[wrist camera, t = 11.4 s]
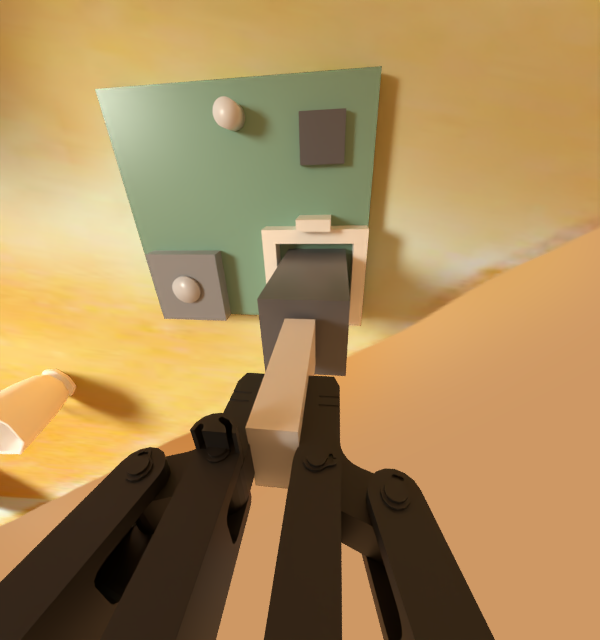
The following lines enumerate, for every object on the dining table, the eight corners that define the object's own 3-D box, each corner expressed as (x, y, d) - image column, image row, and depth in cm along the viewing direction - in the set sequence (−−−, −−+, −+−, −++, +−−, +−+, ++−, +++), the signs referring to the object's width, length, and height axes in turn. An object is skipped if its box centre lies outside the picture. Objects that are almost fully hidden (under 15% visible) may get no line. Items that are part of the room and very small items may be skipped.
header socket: (265, 215, 21) (257, 220, 19) (367, 214, 20) (371, 219, 18) (273, 314, 25) (267, 327, 23) (359, 316, 24) (361, 330, 22)
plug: (288, 248, 22) (257, 299, 13) (345, 248, 22) (350, 301, 13) (291, 300, 24) (265, 372, 16) (342, 301, 24) (345, 376, 15)
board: (107, 93, 20) (75, 82, 17) (378, 72, 17) (385, 56, 15) (168, 306, 28) (152, 319, 25) (359, 311, 25) (361, 326, 23)
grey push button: (162, 247, 25) (142, 255, 22) (264, 246, 24) (255, 255, 21) (178, 306, 28) (162, 320, 25) (270, 309, 27) (263, 323, 24)
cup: (97, 391, 35) (37, 446, 28) (54, 414, 39) (-8, 468, 32) (52, 351, 33) (-26, 400, 26) (11, 379, 36) (-68, 429, 29)
